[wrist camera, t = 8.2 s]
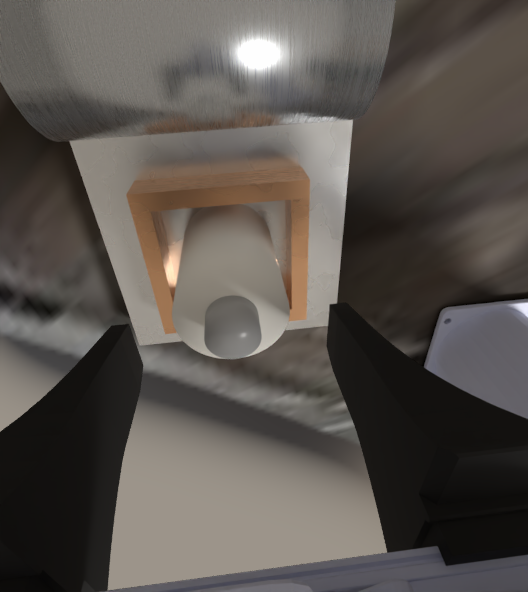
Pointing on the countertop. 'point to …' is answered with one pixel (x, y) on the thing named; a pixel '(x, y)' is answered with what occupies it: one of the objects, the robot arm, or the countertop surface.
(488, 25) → the countertop surface
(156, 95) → the white rectangular base assembly
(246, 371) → the countertop surface
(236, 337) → the white bottle
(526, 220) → the countertop surface
